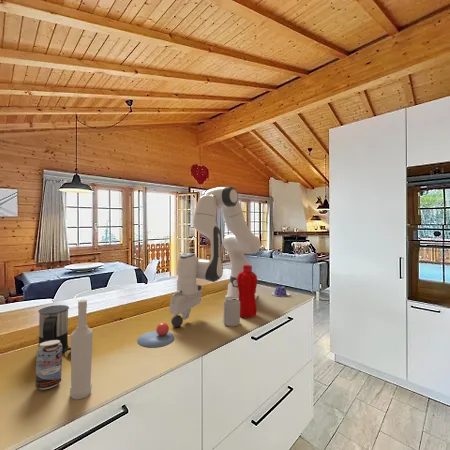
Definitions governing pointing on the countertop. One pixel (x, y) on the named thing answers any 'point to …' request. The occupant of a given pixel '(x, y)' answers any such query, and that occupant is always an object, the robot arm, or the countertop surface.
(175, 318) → the dark grey ball
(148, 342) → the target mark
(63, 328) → the milk frother
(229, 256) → the robot arm
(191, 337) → the countertop surface
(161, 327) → the object ball
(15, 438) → the countertop surface
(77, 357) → the bottle
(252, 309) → the water bottle
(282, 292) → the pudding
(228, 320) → the can
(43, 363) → the beverage can
